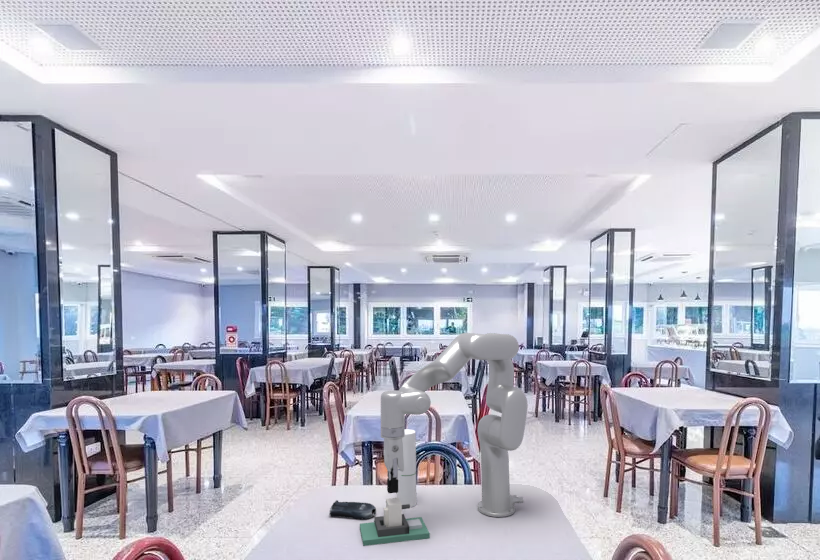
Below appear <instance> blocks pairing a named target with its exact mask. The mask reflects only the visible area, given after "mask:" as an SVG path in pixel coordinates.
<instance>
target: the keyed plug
mask: <svg viewBox="0 0 820 560" xmlns="http://www.w3.org/2000/svg"><path fill="white" fill-rule="evenodd" d="M410 508H411V507H410V504H406V505H402V504H401V502H400V500H399V498H396V497H391V498H385V507H383V516H384V525H386V527H394V526H402V514H403V510H407V509H410Z"/></svg>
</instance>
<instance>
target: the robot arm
mask: <svg viewBox="0 0 820 560" xmlns="http://www.w3.org/2000/svg"><path fill="white" fill-rule="evenodd" d="M519 348H520V344H519V342H518V340H517V338H516V337H514V336H513V335H511V334H508V333H497V332H496V333H495V332H492V333H491V332H490V333H488V332H487V333H474V332H473V333H472V332H470V333H469V332H464V333H463V332H462V333H460V334H458V335H457V336H456V337H455V338H454V339H453V340H451V342H450V343H449V344H448V346H447V347H446V348H445V349H444V350H442V351H441V353H440V354H439V355H438V356H437V357H436V358H435V359H434V360H433V361H431V362H429V363H428V364H427V365H425V366H424V367H422V368H421V369H419V370H417V371H416V372H415V373H413V374H412V375H411V376H410V377H409V378H408V379H407V380H406V381H405V382H404V383H403V384H402V385H401V387H400V388H399V389H398V390H385V391H382V392H381V395H380V438H382V439H383V462H384V466H385V469H386V470H387V472H386V474H387V479H386V480H387V481H386V486H387V487H386V490H387V493H388V494H395V493H398V467H399V469H400V471H402V472H403V471H404V459H403V442H402V438H403V437H405V428H406V427H405V425H406V424H405V422H406V421H405V420H406V419H405V417H406V416H405V415H412V416H413V415H414V416H416V415H417V416H418V415H422V414H425V413H426V412H428V411H429V409H430V407H431V403H432V402H431V398H430V395H428V393H426V392H427V391H428V390H429V389H430V388H432V387H434V386H436V385H439V384H442V383H446V382H449V381H451V380H453V379H454V378H455V377H456V376H457V375H458V373H459V372H461V370H462V369H463V368H464V367H465V366H466V365H467V363H468V362H469V361H470V360H478V361H479V360H480V361H487V362H488V365H489V376H488V381H487V382H488V383H487V388H486V389H487V390H486V396H485V403H486V406H487V407H488V408H489V409H490V410H492V411H494V412H497V413H500V414H501V415H500V416H499V415H496V414H486V415H484V416H482V417H481V418H480V420H479V421H478V424H477V437H478V441H479V447H480V470H481V471H480V472H481V474H480V475H481V480H480V481H481V500H480V501H479V502H477V510H478V511H479V512H480V513H481V514H483V515H485V516H489V517H494V518H504V517H505V518H506V517H508V516H512V515H513V514H514V513H515V512H516V511H515V510H516V506H515V505H516V504H521V503H524V502H525V501H524V497H523V496H517V495H516V494H512V495H511V491H510V490H511V489H510V488H511V487H510V457H509V452H512V451H513V452H514V451H516V450H517V449H519V448H520V446H521V445H522V442H523V439H524V435H525V429H526V424H527V423H526V422H527V414H528V406H529V405H528V399H527V395H526V394H525V392H523V390H521V388H518V387H514V377H515V368H514V363H513V360H512V359H513V358H515V357H516V356H517V354H518V353H519Z"/></svg>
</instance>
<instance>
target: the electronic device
mask: <svg viewBox="0 0 820 560" xmlns="http://www.w3.org/2000/svg"><path fill="white" fill-rule="evenodd" d="M376 513H377V508H376V506H375V505H373V504H372V503H368V502H360V501H356V502H355V501H339V500H337V499H336V500H335V501H334V502H333V503H332V505H331V507H330V508H329V514H328V515H330V517H332V518H333V517H336V518H346V519H347V518H350V519H355V520H369V519H370V518H374V517H376Z"/></svg>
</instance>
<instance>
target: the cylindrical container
mask: <svg viewBox="0 0 820 560" xmlns="http://www.w3.org/2000/svg"><path fill="white" fill-rule="evenodd" d="M416 437H417V435H416V430H414V429H410V428H409V429H408V428H406V429H405V437H403V438H402V442H403V459H404V471H403V472H402V471H400V469H399V467H398V493H396V494H395V495H396V497H395V498H399V500H400V502H401V504H402V505H406V504H410V508H413V507H415V506H416V505H417V445H416V444H417V442H416V441H417V439H416Z"/></svg>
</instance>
